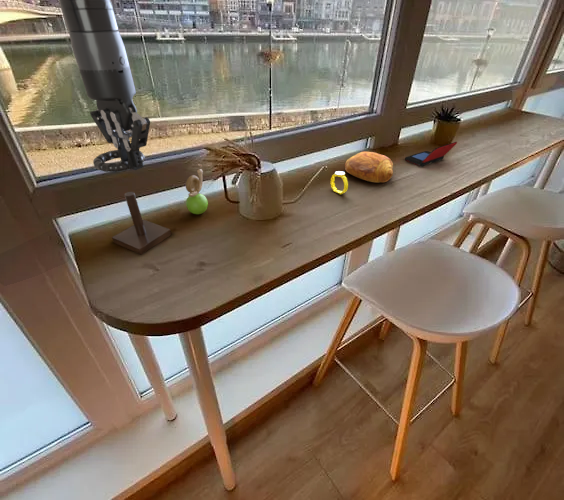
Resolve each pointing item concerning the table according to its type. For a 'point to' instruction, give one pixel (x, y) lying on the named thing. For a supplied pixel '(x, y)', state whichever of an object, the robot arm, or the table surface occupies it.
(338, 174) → the gold gemstone ring
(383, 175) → the bread loaf
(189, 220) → the table surface
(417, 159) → the handheld console
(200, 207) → the snail figurine
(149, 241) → the stand
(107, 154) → the hang ring
